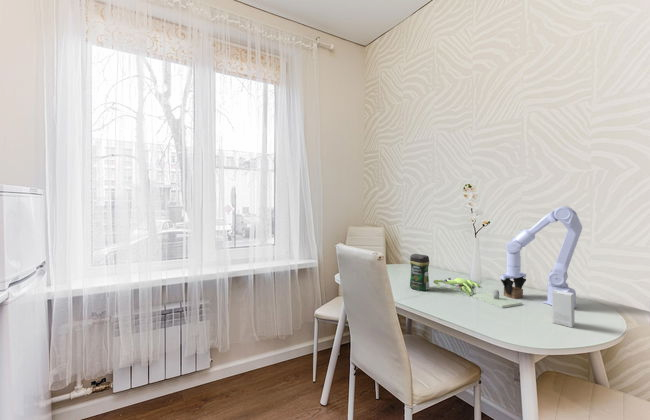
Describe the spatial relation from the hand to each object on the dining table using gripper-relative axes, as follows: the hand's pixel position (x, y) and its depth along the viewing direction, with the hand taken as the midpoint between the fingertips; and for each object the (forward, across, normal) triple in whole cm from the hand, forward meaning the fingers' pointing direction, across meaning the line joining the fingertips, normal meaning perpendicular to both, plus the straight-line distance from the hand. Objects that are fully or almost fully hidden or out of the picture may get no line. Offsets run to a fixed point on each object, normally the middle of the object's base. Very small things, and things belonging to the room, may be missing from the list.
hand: (513, 293), depth 142 cm
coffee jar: (+2, +35, -26) cm, 44 cm away
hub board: (+2, +13, +2) cm, 13 cm away
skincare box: (+2, +12, +30) cm, 32 cm away
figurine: (+2, +16, -20) cm, 25 cm away
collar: (+2, 0, 0) cm, 2 cm away
